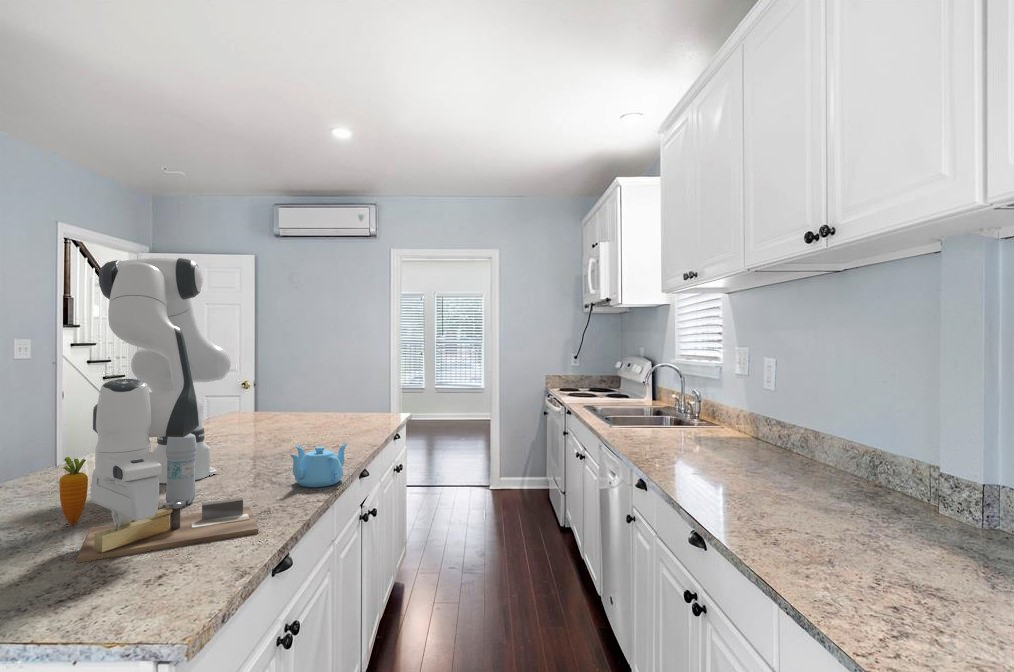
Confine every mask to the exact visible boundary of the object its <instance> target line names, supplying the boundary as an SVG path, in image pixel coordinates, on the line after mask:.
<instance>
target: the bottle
mask: <svg viewBox="0 0 1014 672" xmlns="http://www.w3.org/2000/svg"><path fill="white" fill-rule="evenodd" d="M196 450H197V444H196V437H195V435H193V434H191V433H190V434H188V435H187V436H185V437H168V439H167V445H166V457H167V483H166V488H165V489H166V490H165V502H166V503H168V502H171V501H177V500H184V501H186V504H185V505H190V504H191V503H192V502H193V501H195V498H196V480H195V455H196V453H197V452H196Z"/></svg>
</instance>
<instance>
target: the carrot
mask: <svg viewBox="0 0 1014 672" xmlns="http://www.w3.org/2000/svg"><path fill="white" fill-rule="evenodd" d="M63 460H64V461H65V463H66V464H67V466H63V470H65V471H67V472H69V473H67V474H63V475H62V476H61V477H60V478H59V481H58V482H59V499H60V500H59V501H60V505H61V510H62V513H63V515H64V518H65V520H66V521H67V523H68V525H70V526H72V527H74V526H76V524H77V523H78V522H79V520H80V519H81V517H82V514H83V512H84V511H85V510H84V509H85V506H86V502H87V496H88V486H89V484H88V483H89V476H88V475H87V474H86V473H84V472H83V471H82V472H80V471H81V468H82V467H83V465H84V464H85V462H86V459H85V458H82V459H81V460H79V458H73V460H72V459H71V458H70V457H69V456H67V457H65V458H64V459H63ZM73 461H74V463H73Z"/></svg>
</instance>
